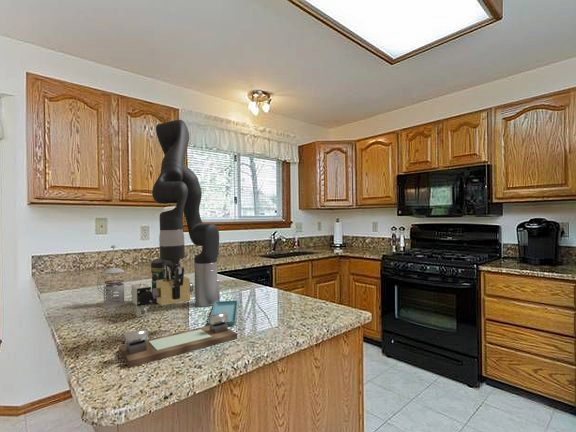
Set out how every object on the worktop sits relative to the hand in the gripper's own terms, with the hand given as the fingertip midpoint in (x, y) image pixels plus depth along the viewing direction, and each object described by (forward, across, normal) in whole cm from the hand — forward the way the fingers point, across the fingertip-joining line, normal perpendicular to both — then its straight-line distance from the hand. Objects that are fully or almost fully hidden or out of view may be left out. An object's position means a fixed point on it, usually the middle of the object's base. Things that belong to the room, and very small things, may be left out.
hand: (173, 297), depth 104 cm
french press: (+11, +50, +9) cm, 52 cm away
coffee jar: (+11, +40, -9) cm, 43 cm away
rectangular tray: (+12, +4, -20) cm, 23 cm away
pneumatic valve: (+11, +24, +3) cm, 27 cm away
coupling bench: (+10, -14, +3) cm, 17 cm away
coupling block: (+1, 0, 0) cm, 1 cm away
